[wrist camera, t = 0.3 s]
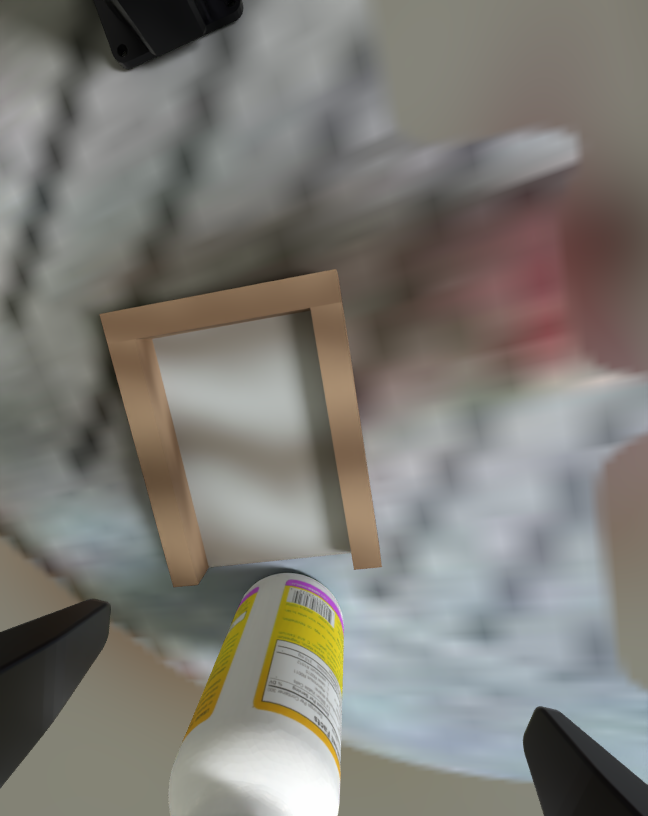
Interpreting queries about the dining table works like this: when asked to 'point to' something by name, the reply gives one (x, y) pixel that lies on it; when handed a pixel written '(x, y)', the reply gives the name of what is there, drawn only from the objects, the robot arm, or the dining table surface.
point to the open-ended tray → (247, 425)
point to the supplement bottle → (269, 710)
